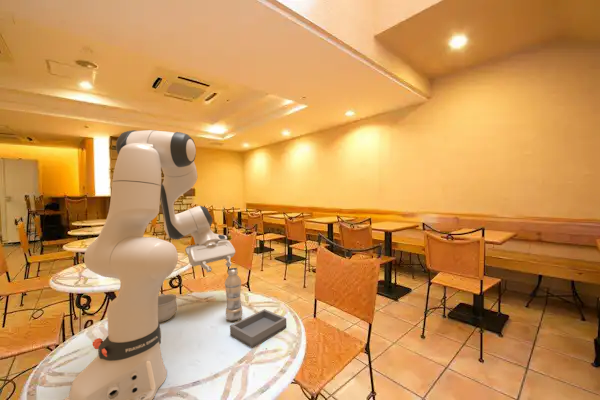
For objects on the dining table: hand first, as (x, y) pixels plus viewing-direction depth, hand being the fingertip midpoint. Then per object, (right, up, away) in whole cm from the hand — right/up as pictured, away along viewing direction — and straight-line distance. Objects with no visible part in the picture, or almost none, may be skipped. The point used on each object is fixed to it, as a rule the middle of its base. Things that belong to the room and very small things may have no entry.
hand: (220, 268), depth 107 cm
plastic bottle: (+7, -19, -5) cm, 21 cm away
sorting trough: (+19, -19, -15) cm, 30 cm away
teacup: (-23, -20, -2) cm, 30 cm away
